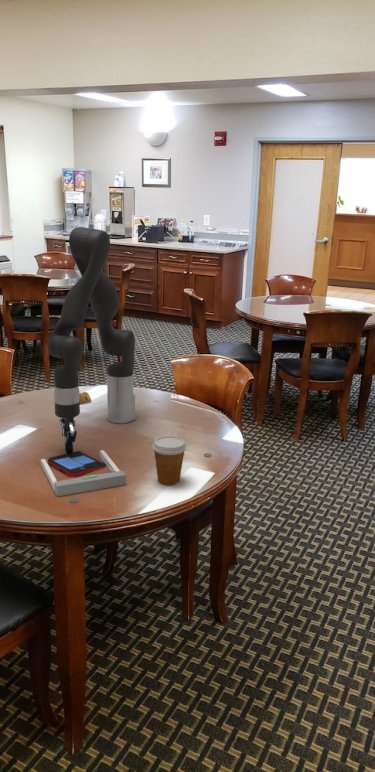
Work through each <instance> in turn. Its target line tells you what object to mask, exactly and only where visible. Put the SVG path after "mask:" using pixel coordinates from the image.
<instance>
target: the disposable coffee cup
mask: <svg viewBox="0 0 375 772" xmlns="http://www.w3.org/2000/svg"><path fill="white" fill-rule="evenodd" d="M152 448H153V451H154V458H155V459H154V460H155V468H156V475H157V482H158V483H159V484H160V485H165V486H174V485H177V484H179V482H180V479H181V473H182V469H183V460H184V456H185V451H186V448H187V445H186V442H185V440H184V439H183V438H181V437H179V436H173V435H166V436H165V435H164V436H159V437H157V438H156V439H155V440H154V442H153V443H152Z"/></svg>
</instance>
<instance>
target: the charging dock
mask: <svg viewBox="0 0 375 772" xmlns="http://www.w3.org/2000/svg"><path fill="white" fill-rule="evenodd" d="M99 457H100V459H101V460H102V461H103V463H105V464H106V467H108V469H109V471H110V472H105V473H100V474H99V473H98V474H93V475H92V474H91V475H86V476H85V475H84V476H81V477H80V476H79V477H73V478H69V479H63V480H58V481H57V479H56V476H55V474H54V473H53V471H52V469H51V468H50V467H51V466H50V465H48V461H47V460H46V459H45V458H41V459H40V466H41V468H42V470H43V471H44V474H45V476H46V478H47V480H48V481H49V483H50V485H51V487H52V490H53V492H54V493H55V495H56V497H57V498H58V497H62V496H67V495H69V496H70V495H74V494H79V493H86V492H91V491H97V490H102V489H108V488H114V487H119V486H125V485H127V482H126V480H127V475H126V473H125V472H124V471H123V470H120V469H119V468H118V466H117V465H116V464H115V463H114V461H113V460H112V459H111V458H110V457H109V455H108V454H107V452H106V451H105V450H104V449H103V450H102V449H101V450H99Z"/></svg>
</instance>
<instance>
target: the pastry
mask: <svg viewBox="0 0 375 772" xmlns="http://www.w3.org/2000/svg"><path fill="white" fill-rule="evenodd" d="M79 394H80V406H81V405H86V404H89V403H91V402H92V398H91V396H90V394H89V393H88V392H87V391H85V392H84V391H83V392H79Z"/></svg>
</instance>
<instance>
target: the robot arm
mask: <svg viewBox="0 0 375 772" xmlns="http://www.w3.org/2000/svg"><path fill="white" fill-rule="evenodd" d="M68 244H69V245H68V247H69V250H70V254H71V257H72V258H73V261H74V263H75V265H76V266H77V269H78V271H79V273H80V275H81V276H80V278H79V280H78V281H77V282H76V283H75V284H74V285H73V286H72V287H71V288H70V290H69V291H68V292H67V295H66V296H65V298H64V301H63V305H62V309H61V313H60V316H59V319H58V321H57V323H55V324H56V325H55V326H54V328H53V330H52V331H51V333H50V336H49V338H48V341H47V351H48V353H49V355H51V356H52V357H54V358H56V359H57V358H58V359H63V360H64V363H63V364H62V365H58V366H56V367H55V369H54V371H53V372H54V373H53V374H54V377H53V378H54V392H53V393H54V395H53V397H54V414H55V416H56V417H58V418H59V419H58V420H59V421H58V422H59V425H60V431H61V436H62V439H63V441H64V452H65V454H68V453H72V452H74V444H73V443H75V442H76V439H77V435H78V430H77V429H76V427H77V426H76V423H77V422H76V420H75V419H74V418H76V417H78V416H79V415H80V413H81V405H80V394H79V393H80V388H79V370H80V366H81V362H82V359H83V354H84V346H83V342H82V340H80V338H78V337H76V336H72V335H71V333H72V332H73V331H75V330H80V329H82V328H83V326H84V324H85V319H86V316H87V311H88V307H89V304H90V307H91V309H92V311H93V313H94V314H93V315H94V317H95V320H96V324H97V328H98V332H99V338H100V343H101V347H102V350H103V352H104V353H105V354H106V355H110V356H119V357H121V361H118V362H114V363H110V364H109V365H108V366H107V369H106V372H107V373H106V374H107V375H106V376H107V377H106V379H107V381H106V382H107V383H106V384H107V385H106V387H107V389H106V391H107V392H106V393H107V420H108V421H109V422H110V423H113V424H127V423H130V422H133V421H135V420H136V395H135V394H134V368H135V367H134V366H135V349H136V347H135V346H136V337H135V333H134V332H133V331H132V330H128V329H120V328H119V329H118V328H113V325H112V320H113V319H114V317H115V315H116V313H117V312H118V310H119V307H120V300H119V296H118V292H117V289H116V285H115V283H114V282H113V281H112V280H111V278H110V277H109V276H108V275H107V274H106V273H105V272H104V271H103V268H104V265H105V263H106V262H107V259H108V255H109V254H110V253H109V251H110V248H111V239H110V235H109V233H108V232H107V231H105V230H102V229H98V228H91V227H81V226H79V227H77V226H76V227H75V228H73V229H72V230H71V231H70V234H69V236H68Z"/></svg>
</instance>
